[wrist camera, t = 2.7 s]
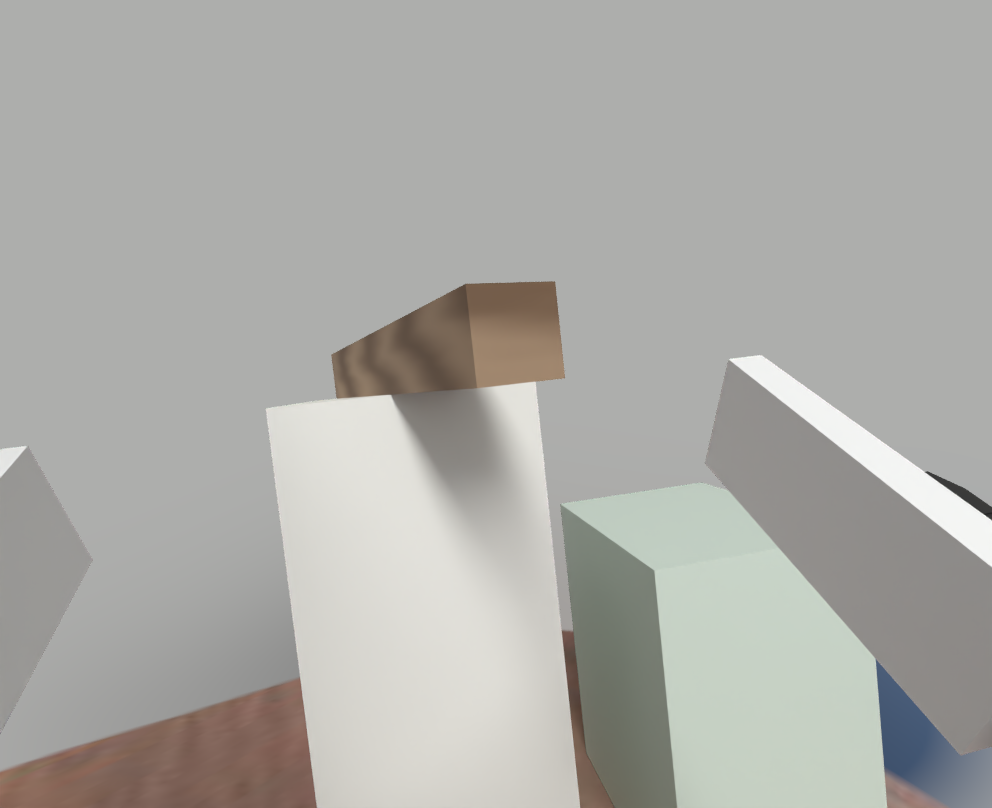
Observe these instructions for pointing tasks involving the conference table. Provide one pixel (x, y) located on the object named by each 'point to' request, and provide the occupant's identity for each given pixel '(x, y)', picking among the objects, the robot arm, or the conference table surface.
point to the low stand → (713, 661)
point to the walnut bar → (459, 344)
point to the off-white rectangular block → (425, 599)
